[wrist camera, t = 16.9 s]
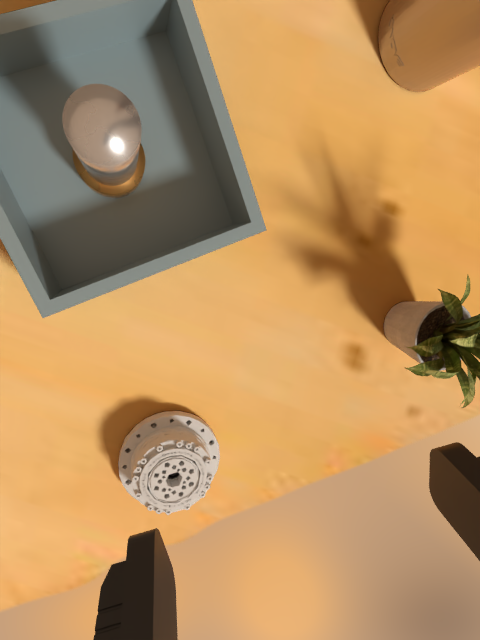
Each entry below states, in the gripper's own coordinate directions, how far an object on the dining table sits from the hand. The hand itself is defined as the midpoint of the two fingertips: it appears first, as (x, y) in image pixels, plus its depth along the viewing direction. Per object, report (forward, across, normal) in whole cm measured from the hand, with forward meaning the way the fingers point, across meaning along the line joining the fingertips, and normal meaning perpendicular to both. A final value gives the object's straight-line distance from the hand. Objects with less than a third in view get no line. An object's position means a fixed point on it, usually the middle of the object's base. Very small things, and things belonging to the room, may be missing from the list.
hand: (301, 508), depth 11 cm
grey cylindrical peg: (+28, +6, -10) cm, 30 cm away
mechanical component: (+25, +8, +18) cm, 32 cm away
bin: (+29, +6, -10) cm, 31 cm away
